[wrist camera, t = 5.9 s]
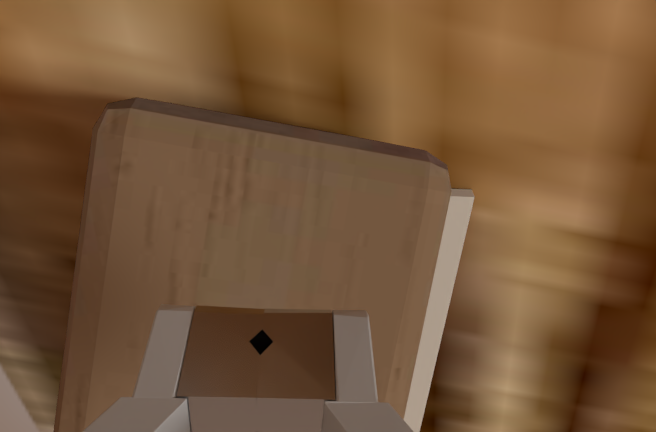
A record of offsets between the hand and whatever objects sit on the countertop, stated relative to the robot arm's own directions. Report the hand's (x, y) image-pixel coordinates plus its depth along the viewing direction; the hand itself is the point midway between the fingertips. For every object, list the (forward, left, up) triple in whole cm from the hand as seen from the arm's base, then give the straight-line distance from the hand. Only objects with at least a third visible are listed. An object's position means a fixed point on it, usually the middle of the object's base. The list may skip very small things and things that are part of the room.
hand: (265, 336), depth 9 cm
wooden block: (+3, 0, -12) cm, 13 cm away
